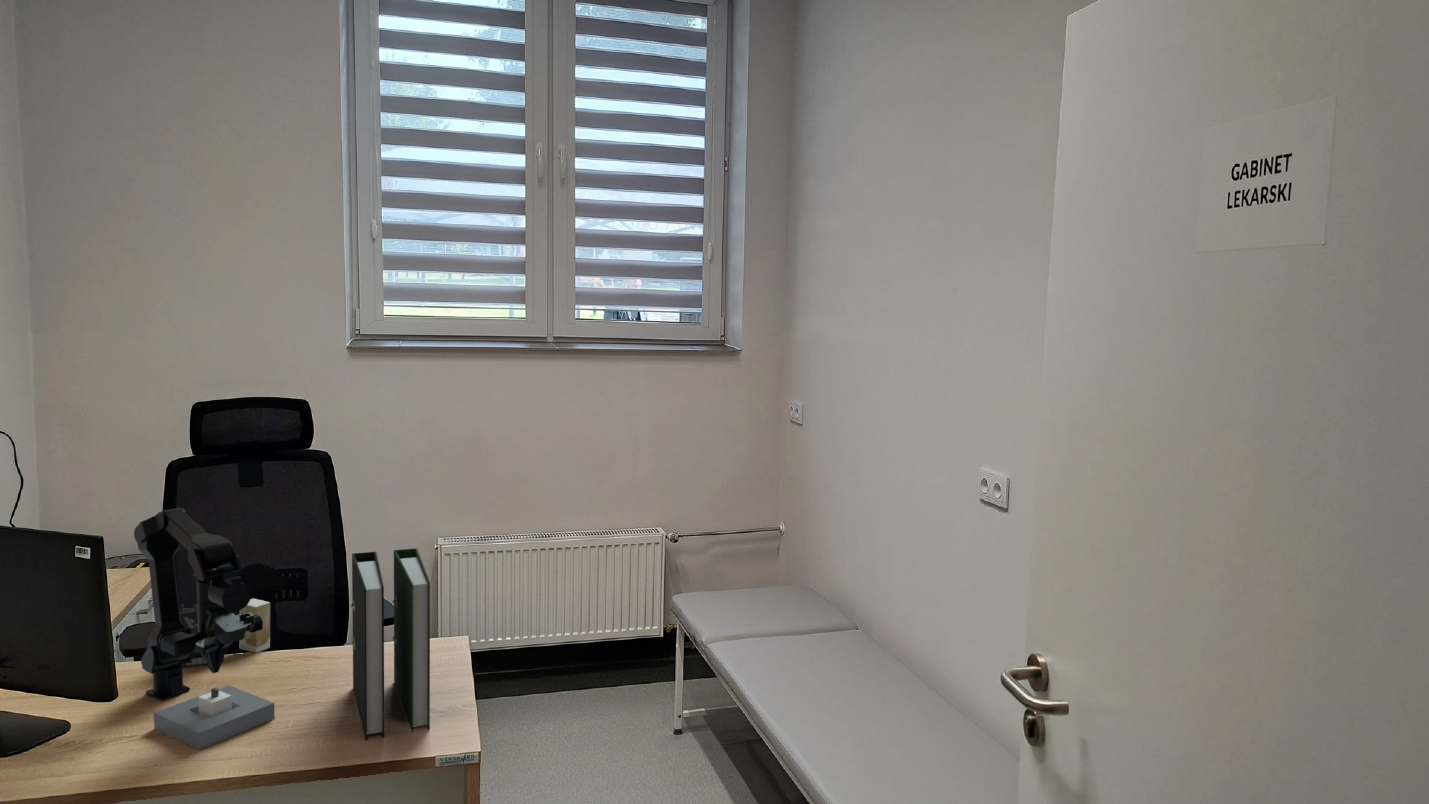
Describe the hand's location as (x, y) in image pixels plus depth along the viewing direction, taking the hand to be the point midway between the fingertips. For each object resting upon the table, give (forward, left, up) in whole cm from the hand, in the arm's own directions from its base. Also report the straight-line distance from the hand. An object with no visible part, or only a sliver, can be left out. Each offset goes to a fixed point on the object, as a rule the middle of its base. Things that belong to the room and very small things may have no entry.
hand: (214, 672), depth 184 cm
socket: (+1, -1, -11) cm, 11 cm away
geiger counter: (-32, +16, -11) cm, 38 cm away
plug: (+1, 0, -10) cm, 10 cm away
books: (+25, +24, -11) cm, 36 cm away
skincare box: (-30, +28, -11) cm, 43 cm away
